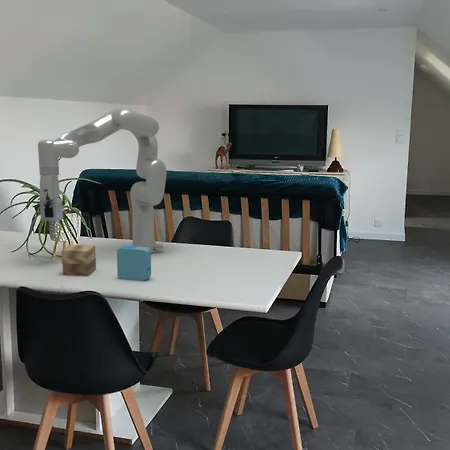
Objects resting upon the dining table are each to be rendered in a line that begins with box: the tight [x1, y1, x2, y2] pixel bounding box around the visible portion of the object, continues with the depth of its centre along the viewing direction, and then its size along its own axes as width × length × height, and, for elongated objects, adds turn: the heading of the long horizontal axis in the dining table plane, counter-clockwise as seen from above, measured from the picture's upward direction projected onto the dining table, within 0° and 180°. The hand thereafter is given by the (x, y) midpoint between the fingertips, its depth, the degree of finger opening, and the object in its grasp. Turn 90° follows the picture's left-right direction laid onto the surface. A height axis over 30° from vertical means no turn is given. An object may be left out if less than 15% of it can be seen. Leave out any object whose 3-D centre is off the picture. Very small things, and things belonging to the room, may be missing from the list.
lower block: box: [62, 257, 97, 277], centre depth 232 cm, size 10×10×5 cm
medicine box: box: [39, 197, 64, 222], centre depth 240 cm, size 8×4×9 cm, turn 72°
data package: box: [116, 245, 152, 281], centre depth 224 cm, size 12×4×12 cm, turn 75°
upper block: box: [61, 244, 96, 264], centre depth 231 cm, size 10×10×5 cm
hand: (51, 215), depth 241 cm, fingers closed on medicine box, 5 cm apart
